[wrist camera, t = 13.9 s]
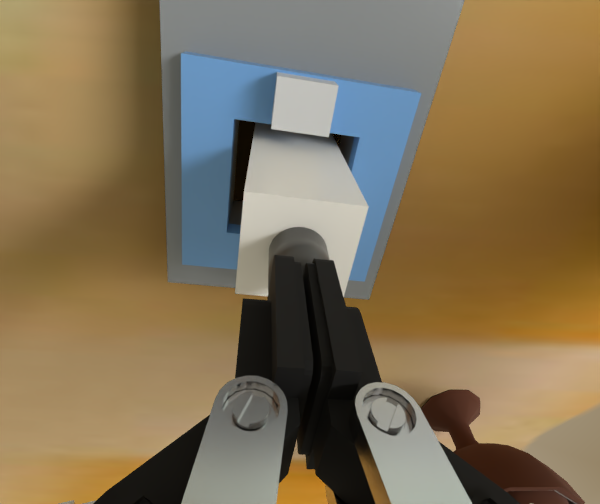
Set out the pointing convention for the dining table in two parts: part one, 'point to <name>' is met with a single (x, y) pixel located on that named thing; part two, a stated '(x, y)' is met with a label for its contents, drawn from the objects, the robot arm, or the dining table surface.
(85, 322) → the dining table surface
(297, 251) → the cord plug
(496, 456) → the ice cream bowl
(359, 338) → the robot arm
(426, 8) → the board
